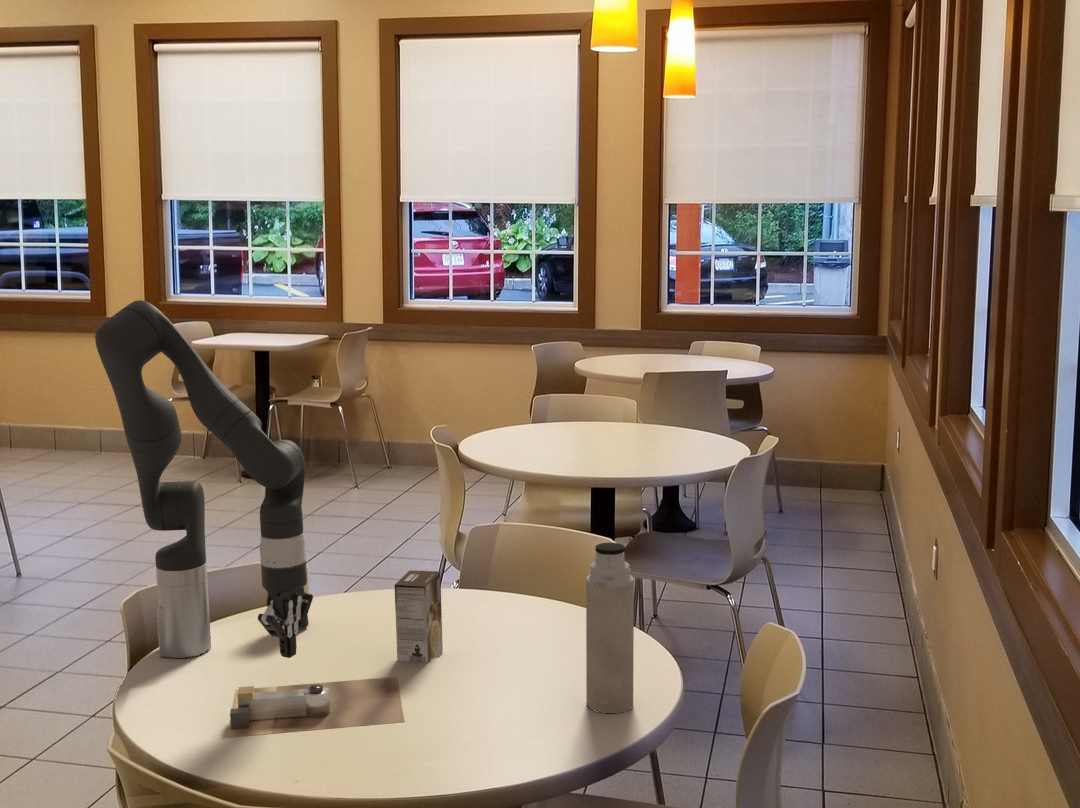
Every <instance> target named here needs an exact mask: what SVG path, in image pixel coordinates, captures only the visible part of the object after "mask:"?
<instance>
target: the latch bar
mask: <svg viewBox="0 0 1080 808" xmlns="http://www.w3.org/2000/svg"><path fill="white" fill-rule="evenodd" d="M254 688H255V686H254V685H251V686H239V687H238V689H237V690H238V694H237V695H238V708H247V707H249V721H250V720H262V719H275V718H287V717H300V716H308V717H321V716H325V715H327V714H329V713H330V711H331V709H330V690H329V688H327V687H323V686H322V685H320V684H315V685H311V686H310V687H309V688H307V689H300V690H287V691H274V692H260V693H254Z"/></svg>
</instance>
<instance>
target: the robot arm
mask: <svg viewBox="0 0 1080 808" xmlns="http://www.w3.org/2000/svg"><path fill="white" fill-rule="evenodd" d="M94 340H95V346H96V350H97V353H98V355H99V358H100V360H101V363H102V366H103V368H104V370H105V373H106V376H107V378H108V380H109V382H110V386H111V388H112V391H113V394H114V397H115V399H116V403H117V406H118V410H119V413H120V418H121V420H122V421H121V422H122V426H123V431H124V434H125V435H124V436H125V438H126V442H127V444H128V448H129V452H130V454H131V457H132V462H133V464H134V468H135V473H136V476H137V482H138V488H139V494H140V498H141V499H140V500H141V505H142V513H143V515H144V518H145V522H146V525H147V526H148V527H149V528H150V529H151V530H153V531H159V532H166V531H167V532H168V531H169V532H170V531H185V532H186V535H185V536H184V537H183V538H181V539H179V540H177V541H176V542H175V541H174V542H173V543H171V544H170V543H169V544H167V545H165V546H163V547H160V549H158V550H157V551H156V553H155V556H154V557H155V559H154V560H155V572H156V573H155V574H156V575H155V576H156V584H157V588H156V589H157V601H158V605H157V608H156V617H157V618H156V619H157V620H156V621H157V622H156V623H157V635H158V637H157V638H158V650H159V657H160V658H161V657H166V658H171V659H172V658H173V659H186V658H185V657H187V658H192V656H193V657H197V656H201V655H203V654H205V653H207V652H208V651H210V650H211V648H212V635H211V621H210V617H211V616H210V605H209V604H210V603H209V586H208V569H207V568H208V567H207V554H206V551H207V550H206V549H207V548H206V530H205V529H206V528H205V526H206V523H205V516H206V513H205V512H206V511H205V510H206V504H205V503H206V502H205V501H206V500H205V491H204V487H203V486H202V484H201V483H200V482H199V481H196V480H184V481H180V480H179V481H161V480H160V479H161V477H162V475H163V472H164V471H165V470H166V468H167V467H168V466H169V465H170V463H171V462H172V460H173V459H174V458H175V456H176V455H177V453H178V451H179V449H180V447H181V443H182V436H183V435H182V431H181V426H180V422H179V417H178V413H177V409H176V408H175V406H174V404H173V403H172V402H171V401H170V400H169V399H168V398H167V397H166V396H163V395H162V394H160V393H159V392H157V391H155V390H153V389H151V388H150V387H148V386H146V385H145V382H144V378H143V374H142V373H143V372H142V371H143V367H145V365H146V364H148V362H150V361H151V360H152V359H154V358H155V357H156V356H158V355H159V354H161V353H162V354H163V355H165V357H167V358H168V359H169V361H171V362H172V364H173V365H174V366H175V367H176V369H177V370H178V372H179V374H180V377H181V379H182V381H183V383H184V384H183V385H184V387H185V390H186V394H187V397H188V401H189V403H190V406H191V408H192V411H193V413H194V414H195V416H196V418H197V419H198V421H199V422H200V424H202V425H203V426H204V427H205V428H206V429H207V430H208V431H209V432H211V434H212V435H214V437H216V438H217V439H218V440H219V441H220V442H221V443H223V445H225V446H226V447H227V448H229V450H230V451H231V454H233V456H234V458H236V460H237V461H238V463H240V465H241V467H242V468H243V469H244V470H245V472H246V473H247V475H248V476H249V477H251V479H252V480H254V481H255V483H257V484H258V485H261V486H262V487H264V489H265V490H264V497H263V501H262V502H261V505H260V508H259V509H260V510H259V522H260V523H259V524H260V545H259V552H260V553H259V554H260V555H259V556H260V569H261V586H262V587H263V589H264V590H265V591H266V592H267V598H266V601H265V602H266V609H265V611H264V613H259V614H258V615H257V620H258V621H259V623H260V624H261V625H262V627H263V628H264V629H265V630H266V632H267V633H268V634H269V636H271V637H276V638H278V641H279V642H278V643H279V654H280V656H281V657H283V658H286V659H287V658H289V659H291V658H292V657H294V656H295V655H297V647H298V646H297V635H298V632H299V629H298V628H299V627H303V626H304V623H305V620H306V617H307V615H308V614H309V611H310V607H311V605H312V603H313V599H314V595H313V594H311V593H309V594H308V593H305V592H304V586H305V585H306V584H307V565H308V564H307V550H306V547H307V546H306V540H305V533H304V518H303V508H302V507H303V506H302V505H303V504H302V503H303V496H304V489H305V488H304V487H305V479H306V478H305V477H306V476H305V475H306V462H305V456H304V454H303V451H302V449H301V447H299V446H298V444H297V443H295V442H294V441H292V440H289V439H279V440H275V441H272V439H270V437H269V436H268V435H267V434H266V433H265V432H264V431H263V430H262V427H263V425H262V420H261V419H260V418H259V417H258V415H256V414H255V413H254V412H253V411H252V410H251V409H250V408H249V406H247V405H246V404H245V403H244V402H242V401H241V400H240V399H239V398H238V397H237V396H236V395H235V394H233V392H232V391H231V390H230V389H228V388H227V387H226V386H225V385H224V384H223V382H222V381H221V380H219V378H218V377H217V376H216V375H215V374H214V373H213V371H212V370H211V369H210V368H209V366H208V365H207V364H206V362H204V360H203V359H202V358H201V356H200V355H199V354H198V353H197V351H196V350H195V349H194V348H193V346H192V345H191V344H190V343H189V342H188V341H187V339H186V338H185V337H184V335H182V333H181V332H180V331H179V330H178V328H176V326H175V325H174V324H173V323H172V321H171V320H170V319H169V317H167V316H166V315H165V314H164V313H163V312H162V311H161V310H160V309H159V308H157V307H156V306H155V305H154V304H152V303H150V302H149V301H145V300H139V299H138V300H134V301H132V302H130V303H129V304H127V305H126V306H124V307H123V308H121V309H120V310H119V311H117V312H116V313H115V314H114V315H112V316H111V317H110V318H108V319H107V320H105V321H104V322H103V323H102V324H100V326H99V327H98V328H97V330H96V332H95V334H94ZM209 649H210V650H209ZM207 650H208V651H207ZM206 651H207V652H206ZM202 653H203V654H202ZM200 654H201V655H200Z"/></svg>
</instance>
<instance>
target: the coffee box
mask: <svg viewBox="0 0 1080 808" xmlns="http://www.w3.org/2000/svg"><path fill="white" fill-rule="evenodd" d="M441 583H442V582H441V571H440V570H439V571H437V570H436V571H435V570H412V569H411V570H408V571H407V572H406V573H405V574H404V575H403V576H402V577H401V578H400V579H399V580H398V581H397V582H396V583H395V584H394V605H395V607H394V608H395V630H396V631H395V632H396V633H395V636H396V660H397V662H408V663H422V664H423V663H424V664H428V663H430V662H431V661H432V660H433V659H437V658H439V656H440V655H441V654H442V652H443V650H444V648H443V646H444V645H443V622H442V621H443V620H442V618H443V617H442V589H441V588H442V587H441V586H442V585H441Z"/></svg>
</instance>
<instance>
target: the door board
mask: <svg viewBox="0 0 1080 808" xmlns="http://www.w3.org/2000/svg"><path fill="white" fill-rule="evenodd" d="M315 684H320V685H322V686H323V687H327V688H329V690H330V709H331V711H330V713H329V714H327V715H325V716H321V717H308V716H300V717H287V718H275V719H262V720H250V721H249V723H250V724H249V728H248V729H236V730H231V722H230V721H229V726H228V731H227V736H226V739H228V738H229V739H230V738H240V737H241V738H242V737H252V736H265V735H274V734H286V733H298V732H299V733H300V732H307V731H319V730H320V731H321V730H332V729H343V728H344V729H345V728H355V727H366V726H376V725H386V724H399V723H405V716H404V710H403V705H402V699H401V693H400V692H401V691H400V687H399V679H398V676H389V677H378V678H366V679H362V678H361V679H352V680H341V681H340V680H339V681H329V682H328V681H327V682H315V683H314V682H313V683H303V684H302V683H301V684H291V685H290V684H288V685H279V686H277V685H276V686H266V687H254V693H260V692H274V691H287V690H300V689H307V688H309V687H310V686H311V685H315ZM234 692H235V693H234V698H233V704H232V708H231V709H235V708H238V695H237V694H238V689H235V691H234Z"/></svg>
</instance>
